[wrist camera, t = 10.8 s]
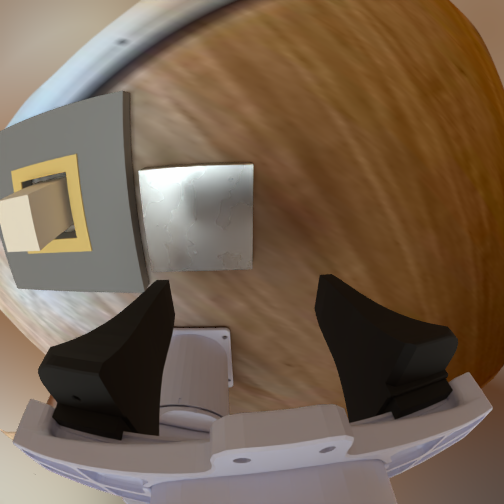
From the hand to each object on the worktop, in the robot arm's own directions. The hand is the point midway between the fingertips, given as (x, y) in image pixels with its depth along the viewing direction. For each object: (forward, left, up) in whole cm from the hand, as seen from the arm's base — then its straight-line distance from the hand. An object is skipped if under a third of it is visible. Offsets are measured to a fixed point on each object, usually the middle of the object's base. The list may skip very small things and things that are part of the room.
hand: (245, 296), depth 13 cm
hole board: (+3, +16, -9) cm, 19 cm away
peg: (+3, +16, -10) cm, 19 cm away
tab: (+1, +3, -9) cm, 10 cm away
